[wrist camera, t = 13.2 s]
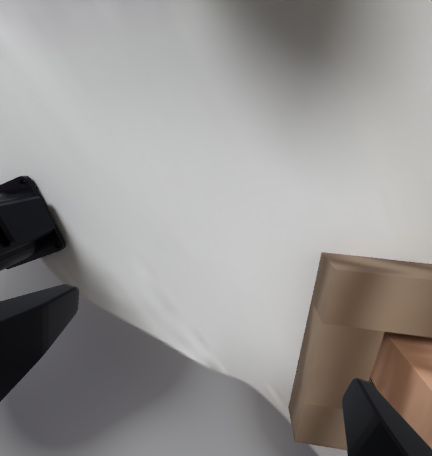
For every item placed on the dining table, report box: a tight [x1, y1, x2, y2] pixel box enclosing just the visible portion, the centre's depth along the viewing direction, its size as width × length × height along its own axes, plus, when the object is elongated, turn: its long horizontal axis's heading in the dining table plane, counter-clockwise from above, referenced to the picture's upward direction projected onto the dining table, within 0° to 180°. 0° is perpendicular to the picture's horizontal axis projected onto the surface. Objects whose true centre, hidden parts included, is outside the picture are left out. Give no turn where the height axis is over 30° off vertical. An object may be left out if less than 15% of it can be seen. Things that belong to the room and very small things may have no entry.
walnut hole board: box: [289, 252, 432, 450], centre depth 20 cm, size 16×16×3 cm
